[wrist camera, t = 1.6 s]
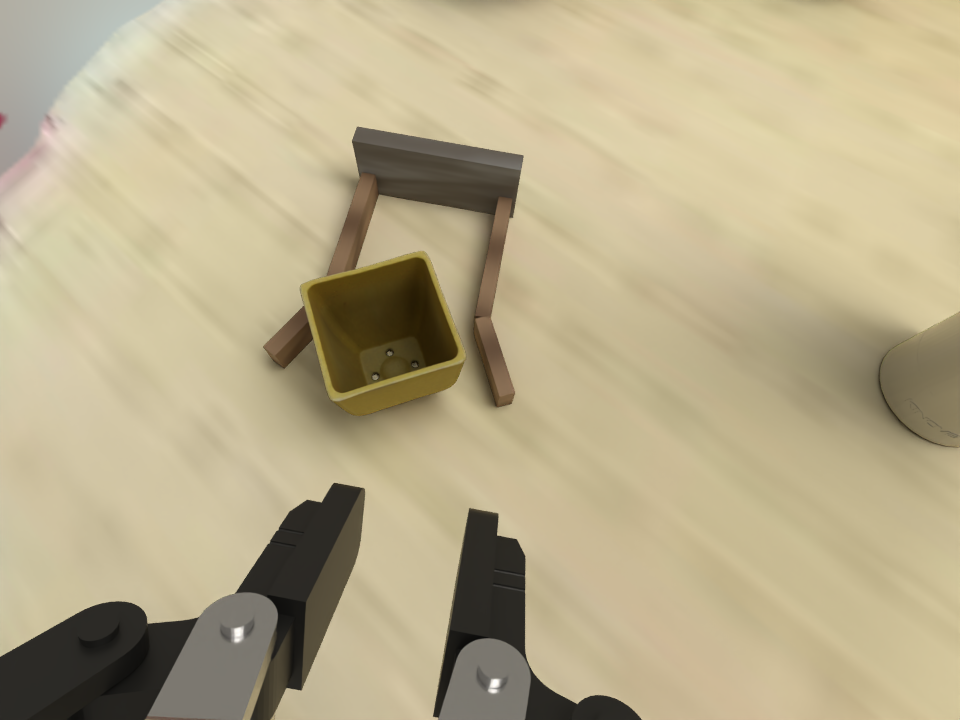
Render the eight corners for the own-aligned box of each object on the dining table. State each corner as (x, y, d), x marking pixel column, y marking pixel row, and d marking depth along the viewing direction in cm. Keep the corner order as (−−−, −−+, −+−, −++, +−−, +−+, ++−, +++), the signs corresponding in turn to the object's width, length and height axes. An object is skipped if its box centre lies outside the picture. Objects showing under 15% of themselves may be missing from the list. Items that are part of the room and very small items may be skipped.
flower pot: (353, 441, 40) (328, 402, 32) (326, 341, 43) (297, 282, 35) (464, 405, 41) (468, 360, 33) (430, 311, 45) (426, 248, 36)
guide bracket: (510, 409, 42) (520, 382, 36) (270, 365, 42) (244, 332, 36) (542, 208, 49) (554, 160, 44) (340, 173, 50) (327, 121, 44)
